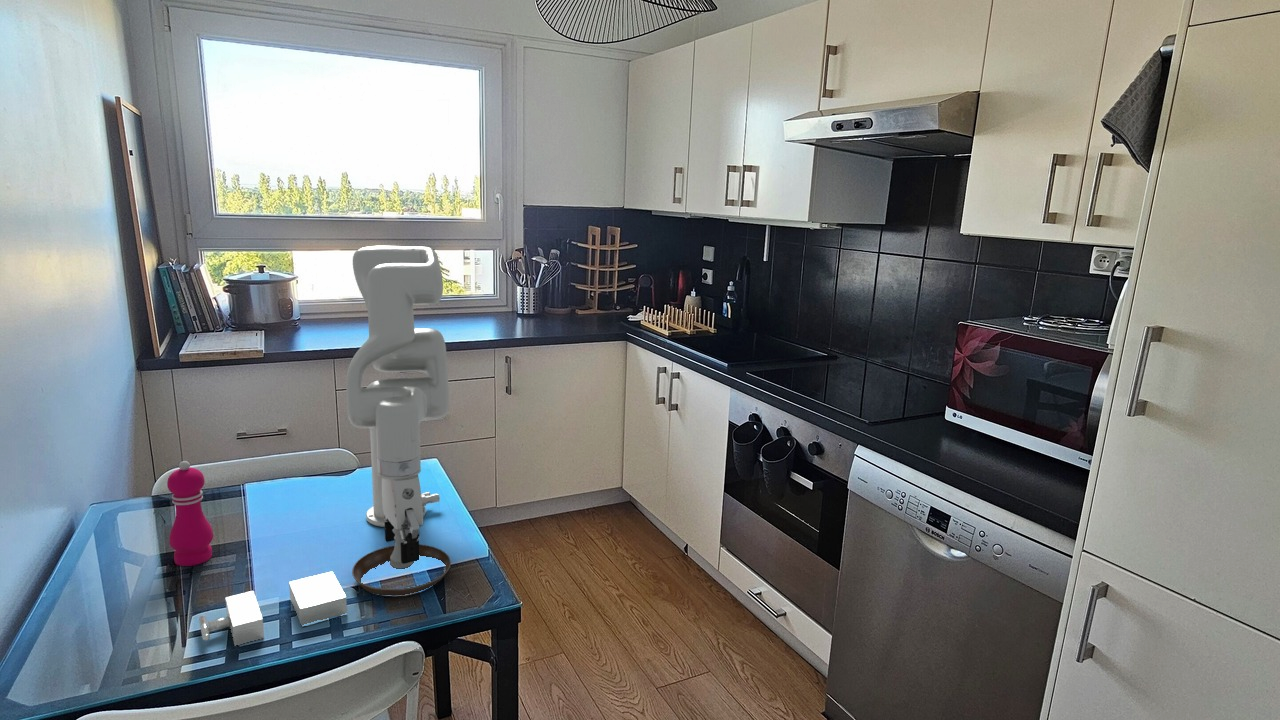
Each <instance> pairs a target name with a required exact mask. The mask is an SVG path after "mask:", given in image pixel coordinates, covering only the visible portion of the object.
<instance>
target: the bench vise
mask: <svg viewBox="0 0 1280 720" xmlns="http://www.w3.org/2000/svg"><path fill="white" fill-rule="evenodd" d="M288 587H289V599H291V601H290V602H292V603H291V605H292V604H293V605H292V607H293V606H294V608H293V610H294V609H295V610H294V612H295V611H296V613H297V615H296V617H297V616H298V618H299V620H300V622H299V624H300V623H301V625H304V624H307V623H311V622H314V621H317V620H323V619H327V618H331V617H335V616H340V615H342V614H345V613H347V614H348V607H347V604H348V603H347V596H346V593H345V592H344V590H343V588H342V586H341V585H340V583H339V581H338V579H337V577H336V575H335V574H334V572H333V571H329V572H325V573H320V574H317V575H313V576H308V577H304V578H300V579H296V580H292V581H288ZM259 606H260V605H259V604H258V601H257V598H256V594H255V591H254V590H250V591H246V592H242V593H238V594H234V595H230V596H225V608H226V616H224V617H221V618H216V619H213V620H209V621H207V617H206V615H200V616H199V617H198V621H199V622H198V623H199V626H200V627H199V628H200V632H201V637H202V640H203V641H208V640H209V639H210V637H211V635H210V632H213V631H217V630H221V629H225V628H229V629H231V630H230V632H231V633H232V634H231V637H233V638H232V641H233V644H234V647H237V646H236V645H238V646H241V645H240V644H242V645H244V644H243V643H245V644H247V643H246V642H249V643H251V642H250V641H253V642H255V641H254V640H256V641H259V640H258V639H260V640H262V639H261V638H263V639H265V631H264V620H263V615H262V613H261V610H260V607H259ZM296 613H295V614H296ZM298 618H297V619H298ZM299 620H298V621H299ZM301 625H300V626H301Z"/></svg>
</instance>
